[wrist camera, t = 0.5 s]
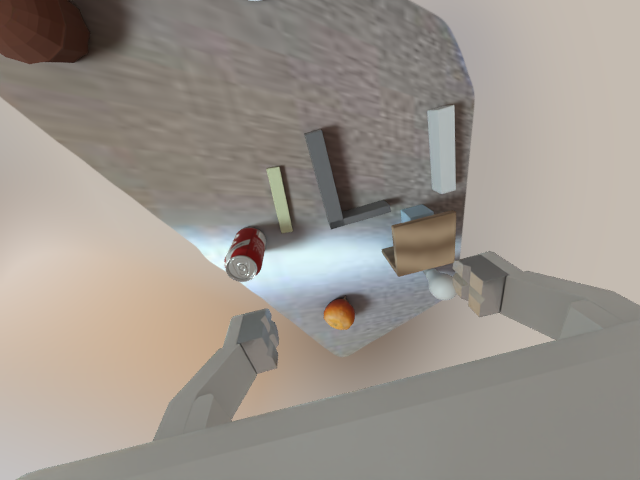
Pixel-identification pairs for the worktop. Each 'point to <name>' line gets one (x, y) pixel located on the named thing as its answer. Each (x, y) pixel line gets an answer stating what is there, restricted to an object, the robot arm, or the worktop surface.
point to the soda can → (245, 254)
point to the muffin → (42, 31)
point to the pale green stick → (279, 199)
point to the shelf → (422, 243)
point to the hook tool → (329, 189)
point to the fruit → (339, 314)
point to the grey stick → (442, 148)
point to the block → (415, 213)
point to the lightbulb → (440, 284)
